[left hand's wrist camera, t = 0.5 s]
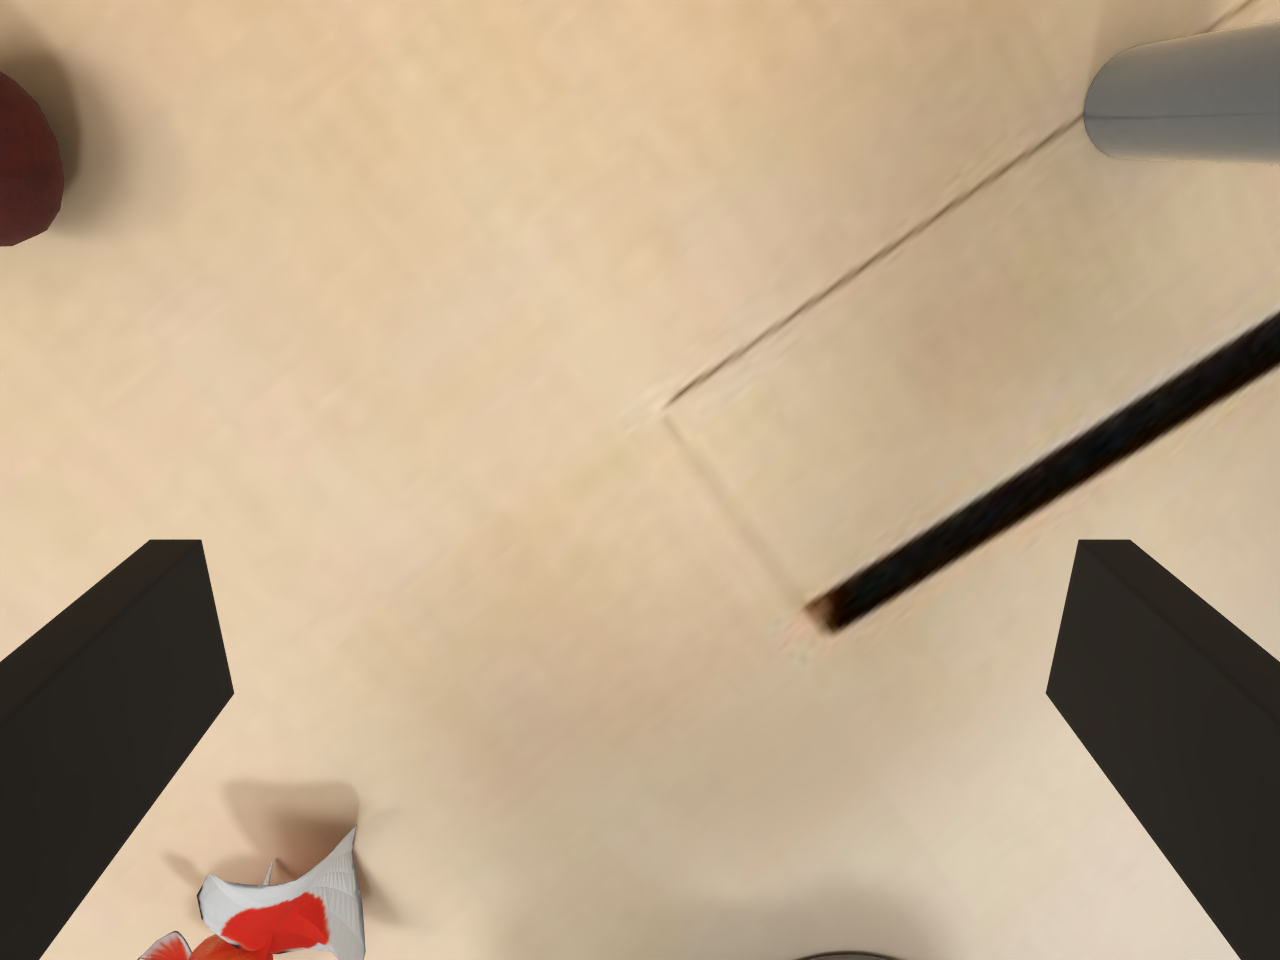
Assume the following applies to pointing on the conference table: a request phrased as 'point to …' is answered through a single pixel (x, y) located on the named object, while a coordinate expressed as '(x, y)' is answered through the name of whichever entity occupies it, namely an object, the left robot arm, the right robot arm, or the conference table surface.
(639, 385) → the conference table surface
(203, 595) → the left robot arm
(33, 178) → the dark maroon ball
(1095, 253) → the conference table surface
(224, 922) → the fish
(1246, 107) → the bottle
